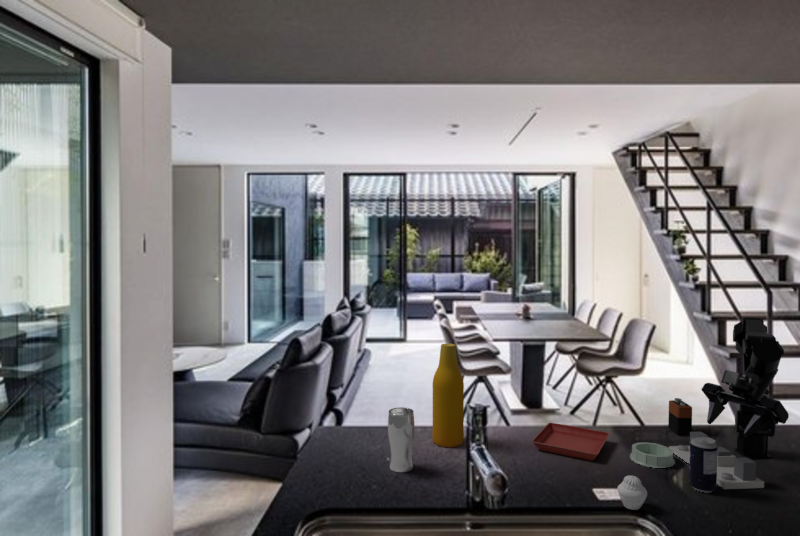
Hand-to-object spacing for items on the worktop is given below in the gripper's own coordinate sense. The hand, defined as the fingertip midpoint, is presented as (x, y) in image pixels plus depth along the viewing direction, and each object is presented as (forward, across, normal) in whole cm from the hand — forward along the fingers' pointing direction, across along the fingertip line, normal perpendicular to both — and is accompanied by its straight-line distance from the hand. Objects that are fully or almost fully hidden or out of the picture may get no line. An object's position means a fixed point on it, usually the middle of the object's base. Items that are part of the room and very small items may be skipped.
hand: (726, 428), depth 129 cm
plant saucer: (+23, -34, -3) cm, 41 cm away
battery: (-5, -29, +24) cm, 38 cm away
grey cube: (+3, -6, +13) cm, 15 cm away
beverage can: (+15, 0, +4) cm, 16 cm away
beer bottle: (+44, -51, -25) cm, 72 cm away
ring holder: (+13, -17, +6) cm, 22 cm away
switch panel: (+6, -7, +13) cm, 16 cm away
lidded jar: (+31, -1, -12) cm, 33 cm away
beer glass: (+58, -40, -39) cm, 81 cm away
